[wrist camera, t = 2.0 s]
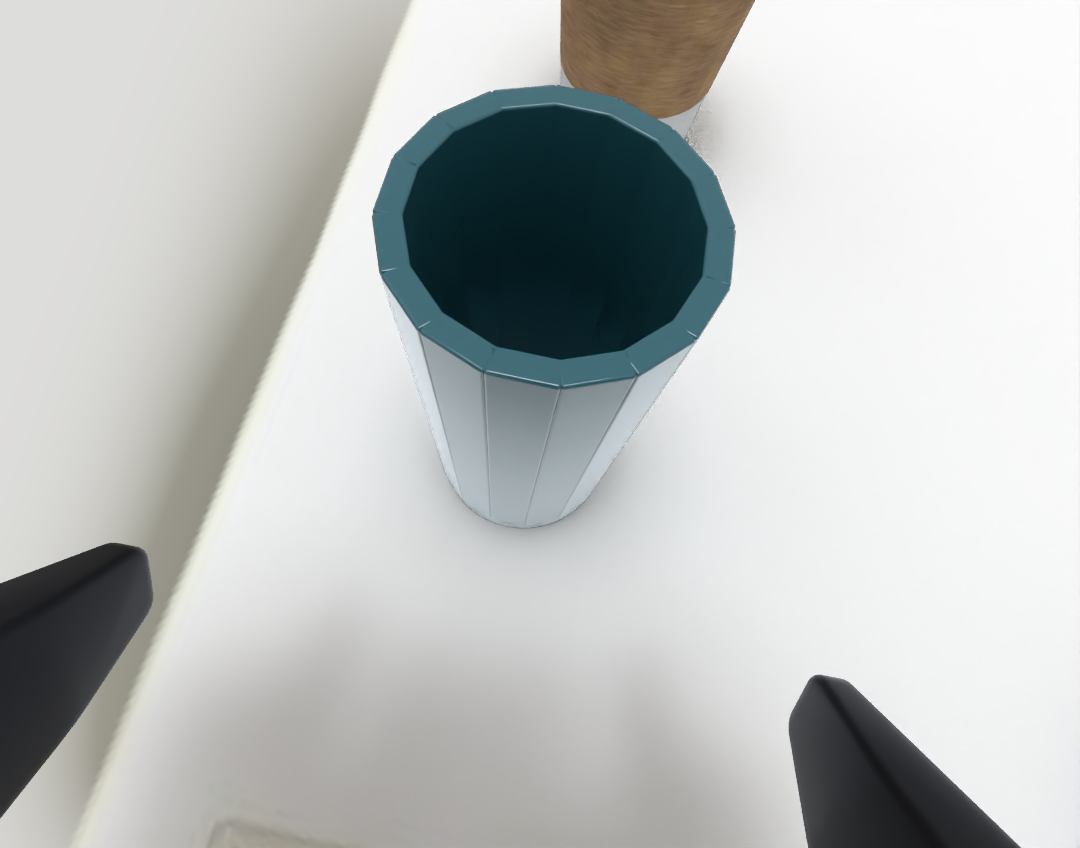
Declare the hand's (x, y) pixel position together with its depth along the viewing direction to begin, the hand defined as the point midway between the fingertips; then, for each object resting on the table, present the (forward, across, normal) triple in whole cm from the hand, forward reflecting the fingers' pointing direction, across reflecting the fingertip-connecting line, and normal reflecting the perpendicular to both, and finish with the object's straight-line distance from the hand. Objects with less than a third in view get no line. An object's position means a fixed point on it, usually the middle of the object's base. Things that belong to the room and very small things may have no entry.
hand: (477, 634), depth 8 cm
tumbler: (+14, 0, +4) cm, 14 cm away
